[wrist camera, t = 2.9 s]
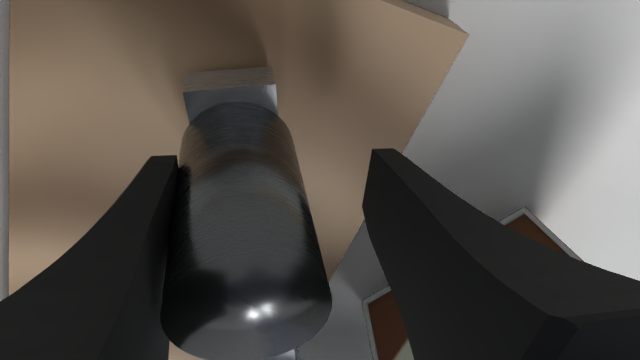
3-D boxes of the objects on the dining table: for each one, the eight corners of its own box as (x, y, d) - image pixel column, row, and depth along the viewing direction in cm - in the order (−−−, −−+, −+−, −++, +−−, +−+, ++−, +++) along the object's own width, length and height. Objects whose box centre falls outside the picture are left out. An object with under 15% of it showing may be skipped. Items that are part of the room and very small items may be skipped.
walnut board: (266, 361, 25) (269, 387, 24) (20, 349, 21) (8, 380, 19) (449, 19, 15) (469, 34, 13) (33, -146, 10) (10, -144, 9)
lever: (302, 370, 23) (327, 531, 17) (239, 381, 22) (245, 550, 17) (285, 65, 13) (333, 227, 7) (170, 74, 12) (133, 253, 7)
